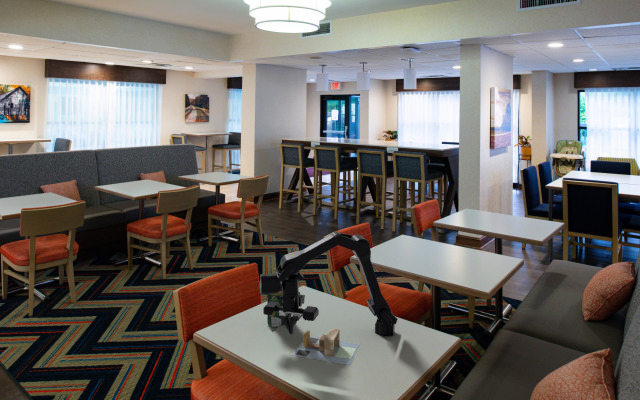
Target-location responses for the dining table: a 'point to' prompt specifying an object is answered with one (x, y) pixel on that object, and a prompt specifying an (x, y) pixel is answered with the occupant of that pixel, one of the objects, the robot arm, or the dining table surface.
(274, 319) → the coffee jar
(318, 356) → the pale blue flat board
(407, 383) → the dining table surface
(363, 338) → the dining table surface
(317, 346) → the tan u-shaped piece
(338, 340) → the tunnel
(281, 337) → the dining table surface
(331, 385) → the dining table surface
